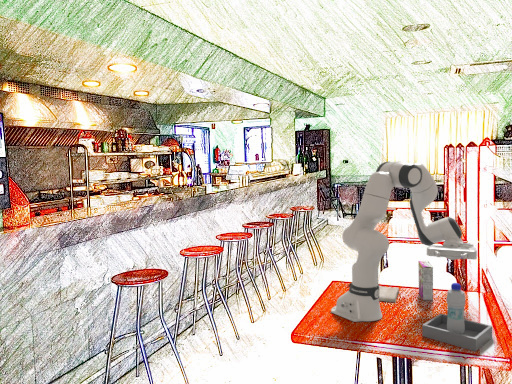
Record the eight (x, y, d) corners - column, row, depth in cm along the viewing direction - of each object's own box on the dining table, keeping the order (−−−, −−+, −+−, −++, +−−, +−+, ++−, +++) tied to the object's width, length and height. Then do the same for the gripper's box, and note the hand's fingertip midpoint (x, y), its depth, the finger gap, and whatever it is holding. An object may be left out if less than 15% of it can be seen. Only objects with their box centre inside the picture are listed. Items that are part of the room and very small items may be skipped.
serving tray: (422, 336, 177) (422, 324, 177) (440, 323, 188) (440, 313, 188) (475, 351, 163) (476, 339, 162) (492, 337, 174) (492, 326, 173)
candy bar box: (417, 292, 228) (418, 260, 226) (428, 293, 227) (428, 260, 225) (422, 300, 217) (422, 266, 215) (433, 300, 216) (433, 266, 214)
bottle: (467, 338, 172) (467, 286, 170) (448, 337, 173) (448, 285, 171) (462, 330, 178) (463, 280, 176) (444, 330, 180) (445, 280, 178)
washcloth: (399, 292, 231) (399, 286, 231) (396, 303, 215) (396, 297, 214) (375, 290, 236) (375, 284, 235) (370, 301, 219) (370, 295, 219)
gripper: (428, 241, 211) (424, 247, 199) (477, 244, 202) (476, 250, 190) (427, 254, 212) (424, 261, 199) (476, 258, 202) (476, 265, 190)
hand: (450, 256), depth 194 cm, fingers open, 8 cm apart
